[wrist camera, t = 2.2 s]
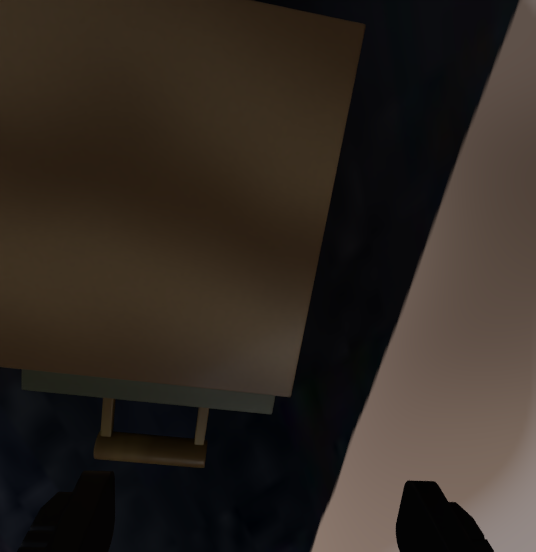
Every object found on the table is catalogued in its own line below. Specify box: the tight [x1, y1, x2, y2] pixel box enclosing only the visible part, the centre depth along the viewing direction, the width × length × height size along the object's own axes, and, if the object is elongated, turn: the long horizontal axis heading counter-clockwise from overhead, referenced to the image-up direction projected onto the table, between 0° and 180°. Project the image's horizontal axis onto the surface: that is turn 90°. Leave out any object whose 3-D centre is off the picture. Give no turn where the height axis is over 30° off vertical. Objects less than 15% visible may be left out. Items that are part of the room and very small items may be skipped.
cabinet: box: [0, 0, 365, 397], centre depth 23 cm, size 17×14×10 cm
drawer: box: [22, 369, 275, 468], centre depth 24 cm, size 22×13×8 cm, turn 171°
